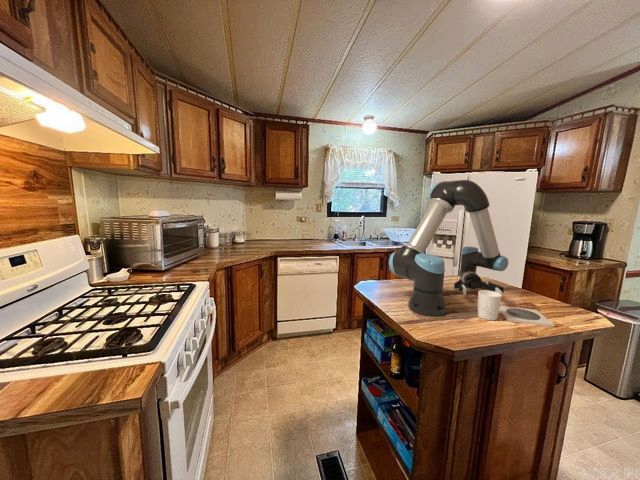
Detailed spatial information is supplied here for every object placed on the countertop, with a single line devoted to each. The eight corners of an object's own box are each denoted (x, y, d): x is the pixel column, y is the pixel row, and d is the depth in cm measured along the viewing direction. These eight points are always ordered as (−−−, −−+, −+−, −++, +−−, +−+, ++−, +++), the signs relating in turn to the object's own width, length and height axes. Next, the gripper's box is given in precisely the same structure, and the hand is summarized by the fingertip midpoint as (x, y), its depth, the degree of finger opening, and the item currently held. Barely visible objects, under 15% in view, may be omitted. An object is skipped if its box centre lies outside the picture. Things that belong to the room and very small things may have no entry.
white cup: (488, 322, 102) (490, 297, 100) (471, 314, 109) (473, 290, 108) (503, 320, 104) (506, 295, 102) (486, 312, 111) (488, 289, 110)
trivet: (507, 320, 103) (507, 318, 103) (495, 307, 117) (495, 304, 117) (554, 326, 98) (554, 324, 98) (536, 311, 112) (536, 309, 112)
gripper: (499, 289, 131) (515, 305, 111) (444, 284, 139) (450, 298, 119) (500, 275, 130) (517, 287, 110) (445, 271, 138) (451, 282, 118)
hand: (482, 293), depth 115 cm, fingers open, 13 cm apart
